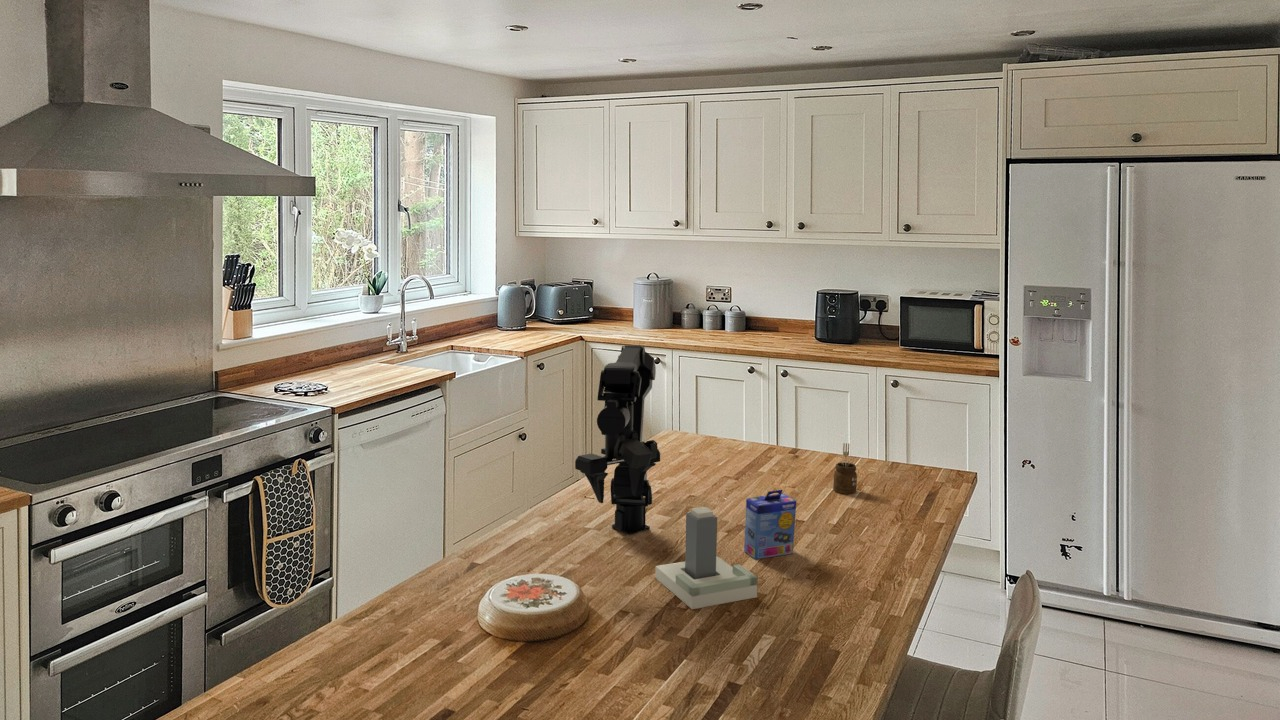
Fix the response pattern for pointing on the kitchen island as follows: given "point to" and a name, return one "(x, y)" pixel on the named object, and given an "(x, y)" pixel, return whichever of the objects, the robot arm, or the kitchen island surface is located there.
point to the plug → (701, 543)
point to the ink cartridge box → (769, 525)
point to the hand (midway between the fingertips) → (618, 499)
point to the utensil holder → (845, 476)
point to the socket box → (708, 584)
